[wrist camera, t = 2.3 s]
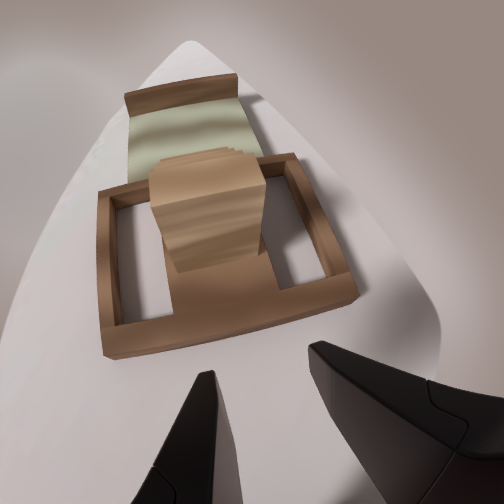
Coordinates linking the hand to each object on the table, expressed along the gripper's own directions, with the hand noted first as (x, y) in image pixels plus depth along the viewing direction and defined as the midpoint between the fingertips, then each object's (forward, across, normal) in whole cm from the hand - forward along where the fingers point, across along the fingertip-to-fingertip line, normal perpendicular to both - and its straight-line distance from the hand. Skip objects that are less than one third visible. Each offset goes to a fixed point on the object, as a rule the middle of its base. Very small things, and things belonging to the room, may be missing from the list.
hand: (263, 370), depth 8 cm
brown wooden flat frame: (+22, 0, -3) cm, 22 cm away
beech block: (+18, 0, -2) cm, 18 cm away
